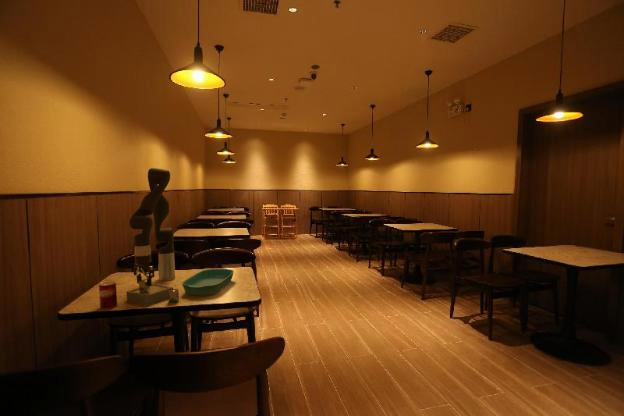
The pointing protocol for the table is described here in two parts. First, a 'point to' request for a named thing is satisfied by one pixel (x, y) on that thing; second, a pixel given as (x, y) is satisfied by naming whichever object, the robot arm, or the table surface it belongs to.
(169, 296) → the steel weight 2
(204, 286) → the casserole dish
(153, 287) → the scale pan
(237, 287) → the table surface
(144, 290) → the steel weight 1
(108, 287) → the soda can
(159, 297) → the block
